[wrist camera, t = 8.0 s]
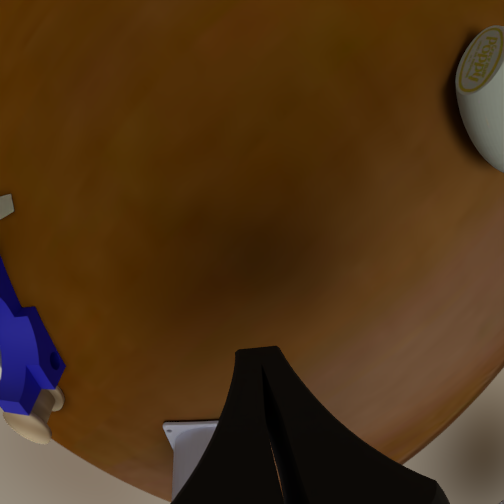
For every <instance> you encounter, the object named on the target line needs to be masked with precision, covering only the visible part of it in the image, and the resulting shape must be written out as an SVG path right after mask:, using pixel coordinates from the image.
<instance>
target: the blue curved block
mask: <svg viewBox="0 0 504 504" xmlns="http://www.w3.org/2000/svg"><path fill="white" fill-rule="evenodd" d="M0 350H1V359H2V372H1V381H0V407H1V408H2V409H3V410H4V412H8V413H14V414H20V415H27V416H29V415H30V413H31V411H32V408H33V406H34V404H35V402H36V400H37V397H38V395H39V393H40V391H41V389H51V390H55V389H56V386H57V384H58V382H59V380H60V378H61V375H62V373H63V371H64V369H65V367H66V366H65V364H64V362H63V360H62V359H61V357H60V355H59V353H58V352H57V350H56V348H55V346H54V344H53V342H52V340H51V338H50V337H49V335H48V333H47V331H46V329H45V327H44V325H43V323H42V320H41V318H40V316H39V314H38V312H37V310H36V308H35V307H26V308H22V307H21V305H20V303H19V301H18V298H17V296H16V294H15V292H14V289H13V287H12V285H11V282H10V280H9V277H8V275H7V272H6V270H5V267H4V264H3V262H2V259H1V256H0Z"/></svg>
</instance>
